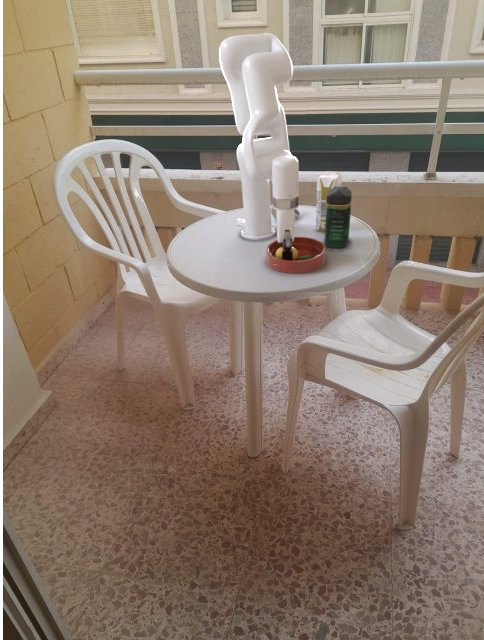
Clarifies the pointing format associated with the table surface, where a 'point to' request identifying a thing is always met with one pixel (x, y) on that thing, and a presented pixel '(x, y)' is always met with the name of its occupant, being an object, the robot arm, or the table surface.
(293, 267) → the bowl
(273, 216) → the ceramic mug
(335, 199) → the coffee jar
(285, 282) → the table surface
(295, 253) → the tulip
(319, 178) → the juice carton
